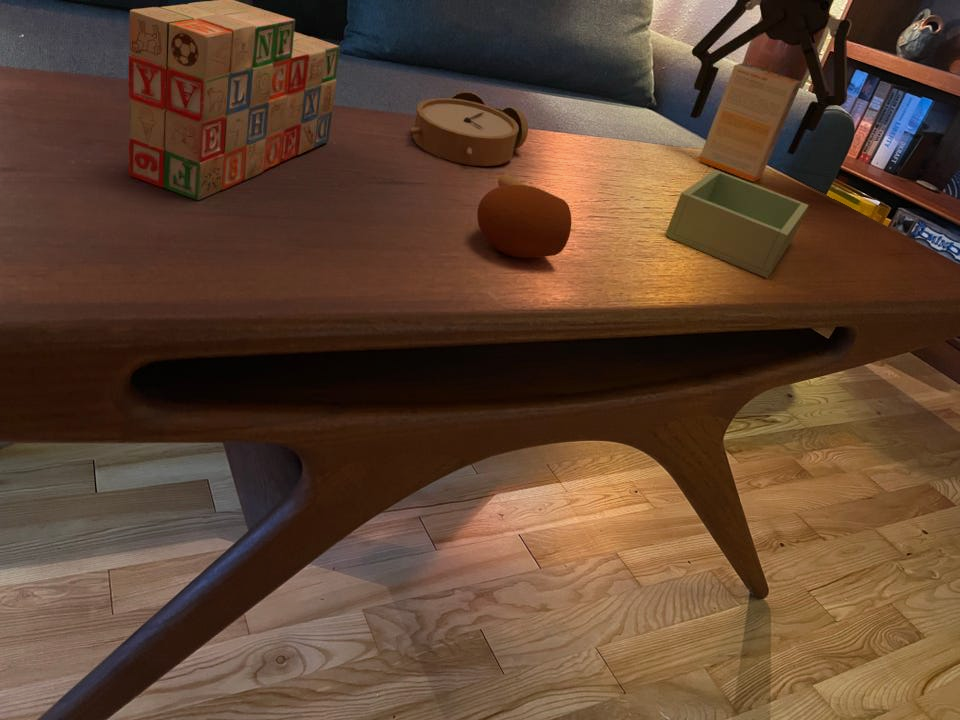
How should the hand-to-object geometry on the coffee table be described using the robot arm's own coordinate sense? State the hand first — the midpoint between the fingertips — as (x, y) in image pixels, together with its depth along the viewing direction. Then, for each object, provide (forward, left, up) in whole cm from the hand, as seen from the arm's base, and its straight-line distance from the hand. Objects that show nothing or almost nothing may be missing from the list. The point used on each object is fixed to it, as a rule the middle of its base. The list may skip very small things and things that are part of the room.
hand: (742, 134), depth 104 cm
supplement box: (0, 0, -5) cm, 5 cm away
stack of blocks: (+31, +60, -5) cm, 68 cm away
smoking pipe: (+9, +50, -5) cm, 51 cm away
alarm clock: (+23, +33, -5) cm, 40 cm away
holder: (-7, +29, -5) cm, 30 cm away
